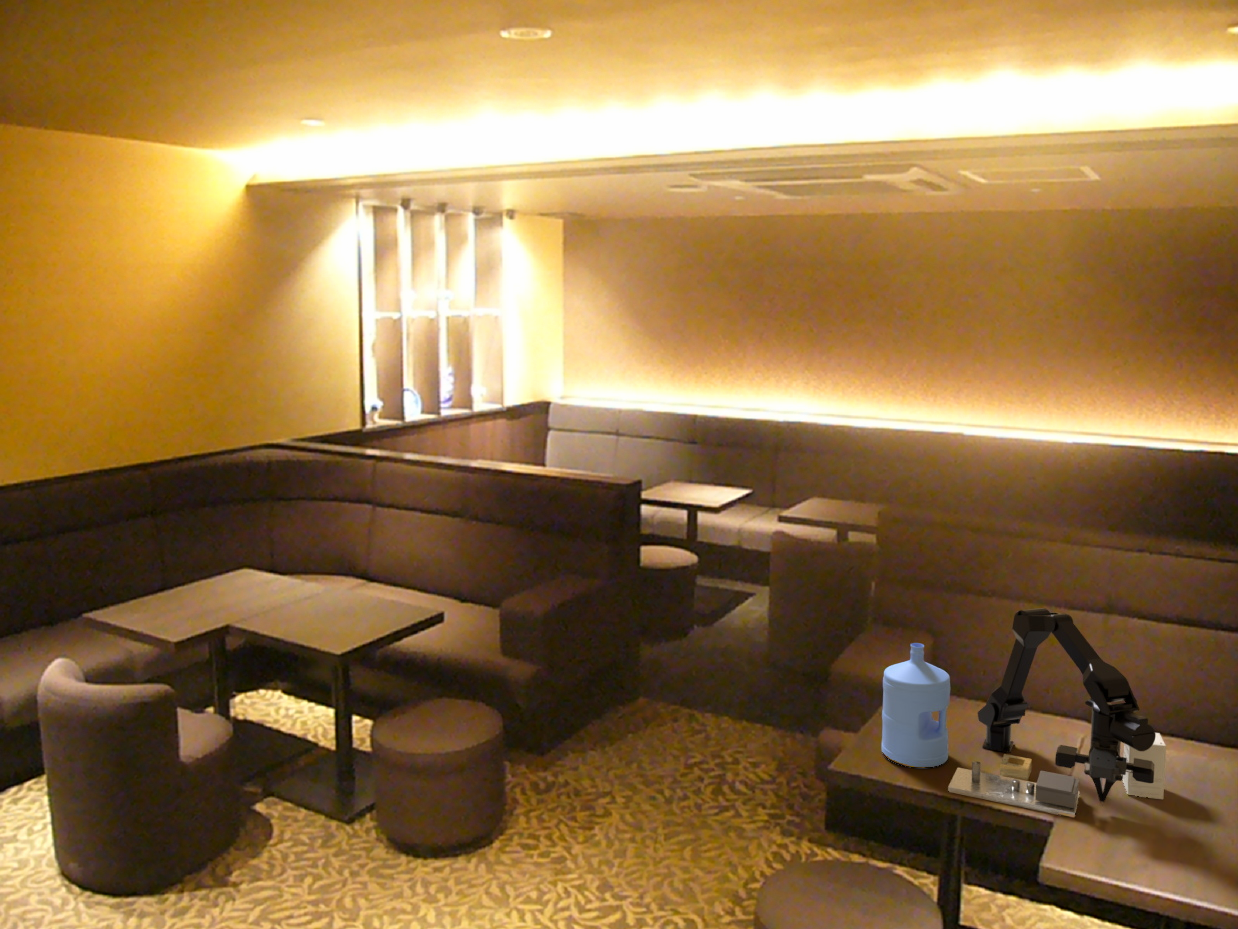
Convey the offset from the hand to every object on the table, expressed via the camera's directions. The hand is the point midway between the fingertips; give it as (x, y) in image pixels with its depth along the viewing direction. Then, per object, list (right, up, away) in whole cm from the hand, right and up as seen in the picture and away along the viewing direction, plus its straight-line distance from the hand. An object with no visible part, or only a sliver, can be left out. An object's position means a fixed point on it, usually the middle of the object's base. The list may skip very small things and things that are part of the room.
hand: (1102, 801), depth 211 cm
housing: (-8, 0, +4) cm, 9 cm away
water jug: (-31, +1, +29) cm, 43 cm away
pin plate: (-15, -2, +9) cm, 18 cm away
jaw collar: (-11, 0, +19) cm, 22 cm away
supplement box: (+14, -1, +10) cm, 17 cm away
